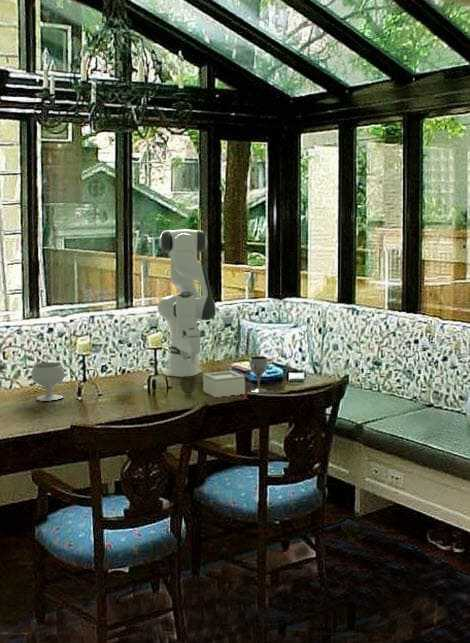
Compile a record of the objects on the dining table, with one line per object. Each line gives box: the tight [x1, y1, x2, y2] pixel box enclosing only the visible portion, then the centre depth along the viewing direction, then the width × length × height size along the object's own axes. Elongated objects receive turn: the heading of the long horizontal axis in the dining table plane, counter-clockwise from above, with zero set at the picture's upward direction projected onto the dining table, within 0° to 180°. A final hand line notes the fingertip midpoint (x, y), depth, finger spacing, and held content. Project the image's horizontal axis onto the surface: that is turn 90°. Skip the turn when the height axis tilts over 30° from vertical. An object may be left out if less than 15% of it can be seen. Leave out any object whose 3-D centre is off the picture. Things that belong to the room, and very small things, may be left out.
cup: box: [178, 375, 197, 397], centre depth 387 cm, size 8×7×8 cm
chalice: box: [31, 362, 66, 402], centre depth 384 cm, size 14×14×15 cm
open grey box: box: [202, 370, 246, 398], centre depth 391 cm, size 14×14×8 cm
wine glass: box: [249, 355, 268, 394], centre depth 393 cm, size 8×8×15 cm
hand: (188, 361), depth 385 cm, fingers open, 8 cm apart
